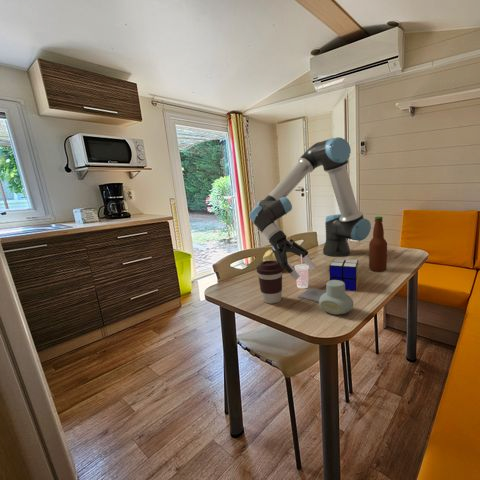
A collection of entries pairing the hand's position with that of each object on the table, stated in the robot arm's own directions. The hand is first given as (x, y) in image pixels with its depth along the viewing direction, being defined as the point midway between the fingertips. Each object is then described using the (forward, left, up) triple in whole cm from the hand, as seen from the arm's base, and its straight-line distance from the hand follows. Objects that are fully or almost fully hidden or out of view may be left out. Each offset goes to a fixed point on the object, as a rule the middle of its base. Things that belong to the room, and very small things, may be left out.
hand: (306, 273), depth 109 cm
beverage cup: (0, -2, -6) cm, 7 cm away
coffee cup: (+18, -2, -6) cm, 20 cm away
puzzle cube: (-12, +10, -7) cm, 17 cm away
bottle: (-38, +11, -6) cm, 40 cm away
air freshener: (+9, +20, -7) cm, 23 cm away
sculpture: (-9, -28, -7) cm, 30 cm away
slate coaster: (+4, +8, -6) cm, 11 cm away
